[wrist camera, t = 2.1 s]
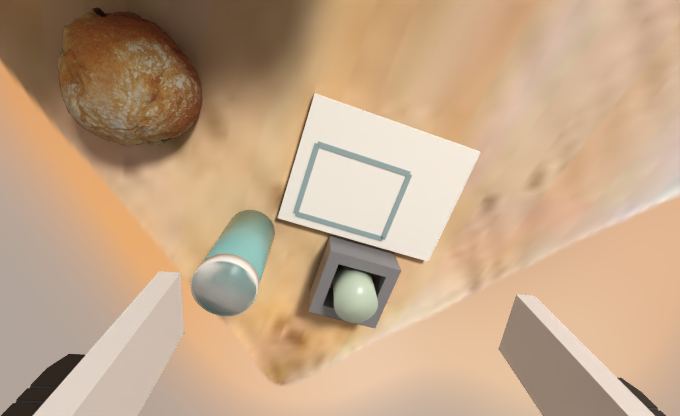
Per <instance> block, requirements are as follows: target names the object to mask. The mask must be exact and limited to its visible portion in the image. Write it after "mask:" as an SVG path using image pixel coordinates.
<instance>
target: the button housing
mask: <svg viewBox="0 0 680 416" xmlns="http://www.w3.org/2000/svg"><path fill="white" fill-rule="evenodd" d="M338 264H340V265H343V266H347V267H351V268H354V269H358V270H362V271H365V272H369V273H373V274H374V275H373V278H372V280H373V284H374V288H375V292H376V296H377V300H378V308H377V310H376V312H375V314H374V315H373V316H372V317H371V318H370V319H368V320H366V321H364V322H360V323H355V324H359V325H363V326H367V327H371V328H375V327H376V325H377V323H378V321H379V318H380V316H381V314H382V312H383V310H384V307H385V305H386V303H387V301H388V298H389V296H390V294H391V292H392V290H393V287H394V285H395V283H396V281H397V279H398V276H399V274H400V272H401V269H400V267H399V264H398V262H397V260H396V257H395V255H394V253H391V252H388V251H384V250H381V249H378V248H374V247H371V246H367V245H364V244H360V243H357V242H353V241H350V240H346V239H343V238H339V237H336V236H332V235H330V237H329V239H328V242H327V245H326V248H325V251H324V253H323V256H322V259H321V262H320V265H319V267H318V270H317V273H316V276H315V278H314V281H313V284H312V287H311V290H310V298H309V312H311V313H315V314H319V315H323V316H327V317H331V318H335V319H339V320H342V319H341V318H340V317H339V316H338V315H337V314H336V312H335V309H334V295H333V288H330V285H331V283H332V280H333V277H334V275H335V272H336V269H337V267H338ZM343 321H344V320H343Z"/></svg>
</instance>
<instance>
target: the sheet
mask: <svg viewBox="0 0 680 416" xmlns="http://www.w3.org/2000/svg"><path fill="white" fill-rule="evenodd" d="M479 154H480V151H477V150H475V149H472V148H469V147H466V146H463V145H461V144H458V143H455V142H452V141H449V140H446V139H444V138H441V137H438V136H435V135H432V134H429V133H427V132H424V131H421V130H418V129H415V128H412V127H410V126H407V125H404V124H401V123H398V122H395V121H393V120H390V119H387V118H384V117H381V116H378V115H375V114H373V113H370V112H367V111H364V110H361V109H358V108H356V107H353V106H350V105H347V104H344V103H341V102H339V101H336V100H333V99H330V98H327V97H324V96H322V95H319V94H316V93H315V94H314V97H313V101H312V104H311V108H310V111H309V114H308V118H307V121H306V124H305V128H304V131H303V134H302V138H301V141H300V145H299V148H298V151H297V155H296V158H295V161H294V165H293V168H292V171H291V175H290V178H289V181H288V185H287V188H286V192H285V195H284V198H283V202H282V205H281V208H280V212H279V215H278V218H279V219H282V220H286V221H289V222H293V223H296V224H299V225H303V226H306V227H310V228H313V229H317V230H320V231H324V232H327V233H331V234H334V235H338V236H341V237H345V238H348V239H351V240H355V241H358V242H362V243H365V244H369V245H372V246H376V247H379V248H383V249H386V250H390V251H393V252H397V253H400V254H403V255H407V256H410V257H414V258H417V259H421V260H424V261H429V259H430V257H431V255H432V253H433V251H434V249H435V247H436V245H437V243H438V240H439V238H440V236H441V234H442V232H443V230H444V228H445V226H446V224H447V222H448V219H449V217H450V215H451V213H452V211H453V209H454V207H455V205H456V203H457V201H458V198H459V196H460V194H461V192H462V190H463V188H464V186H465V184H466V182H467V180H468V177H469V175H470V173H471V171H472V169H473V167H474V165H475V163H476V161H477V159H478V156H479Z"/></svg>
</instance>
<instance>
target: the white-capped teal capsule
mask: <svg viewBox="0 0 680 416" xmlns="http://www.w3.org/2000/svg"><path fill="white" fill-rule="evenodd" d="M274 235H275V230H274V226H273V223H272V222H271V220H270V219H269V218H268V217H267V216H266V215H264V214H263V213H261V212H258V211H255V210H245V211H242V212H239V213H238V214H236V215H235V216H234V217H233V218H232V219H231V221H230V222H229V224H228V225H227V227H226V228H225V230H224V231H223V233H222V234H221V236H220V237H219V239H218V240H217V242H216V243H215V245H214V246H213V248H212V249H211V251H210V252H209V254H208V255H207V257H206V258H205V260H204V261H203V262H202V263H201V265H200V266H199V268H198V269H197V271H196V272H195V274H194V275H193V277H192V281H191V291H192V295H193V297H194V299H195V300H196V302H197V303H198V304H199V305H200V306H201V307H202V308H203V309H205V310H206V311H208V312H210V313H213V314H216V315H220V316H233V315H237V314H240V313H242V312H244V311H246V310H247V309H248V308H249V307H251V305H252V304H253V303H254V301H255V298H256V296H257V292H258V289H259V284H260V280H261V277H262V274H263V271H264V268H265V264H266V261H267V258H268V255H269V252H270V249H271V245H272V242H273V239H274Z"/></svg>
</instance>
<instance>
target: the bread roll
mask: <svg viewBox="0 0 680 416" xmlns="http://www.w3.org/2000/svg"><path fill="white" fill-rule="evenodd" d="M63 32H64V33H63V46H62V51H63V52H61V57H60V58H59V60H58V65H57V67H58V72H59V82H60V89H61V93H62V96H63V99H64V102H65V104H66V107H67V109H68V111H69V113H70V114H71V115H72V116H73V118H74V119H75V120H76V121H77V122H78V123H79V124H80V125H81V126H82V127H83V128H85V129H86V130H88V131H89V132H91V133H93V134H95V135H97V136H99V137H101V138H103V139H105V140H108V141H113V142H116V143H119V144H122V145H128V146H129V145H132V144H136V145H138V144H139V143H140V144H142V143H144V142H146V143H149V144H153V145H160V144H163V143H165V140H169V139H171V138H173V137H178V136H180V135H182V134H183V133H185V132H186V131H187V130H188V129H189V128H190V127H191V126H192V125H193V124H194V123H195V122H196V121H197V118H198V116H199V113H200V110H201V105H202V90H201V82H200V78H199V76H198V74H197V72H196V70H195V69H194V67H193V66H192V65H191V63H190V61H189V60H188V59H187V58H186V57H185V55H184V54H183V52H182V51H181V50H180V49H179V47H178V46H177V45H176V43H175V42H173V41H172V39H171V38H170V37H169V36H168V35H167V34H166V33H165V32H163V31H162V30H161V29H160V28H159V27H158V26H157V25H156V24H155V23H153V22H150V21H147V20H144V19H142V18H141V17H140V16H138V15H136V14H134V13H129V12H127V13H126V12H116V13H108V14H104V12H103V11H102V10H101V9H99V8H93V9H92V10H91V11H89V12H88V13H86V14H85V15H83V16H82V17H80V18H78V19H75V22H73V23H72V24H71V25H69V26H65V27H64V29H63Z"/></svg>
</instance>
